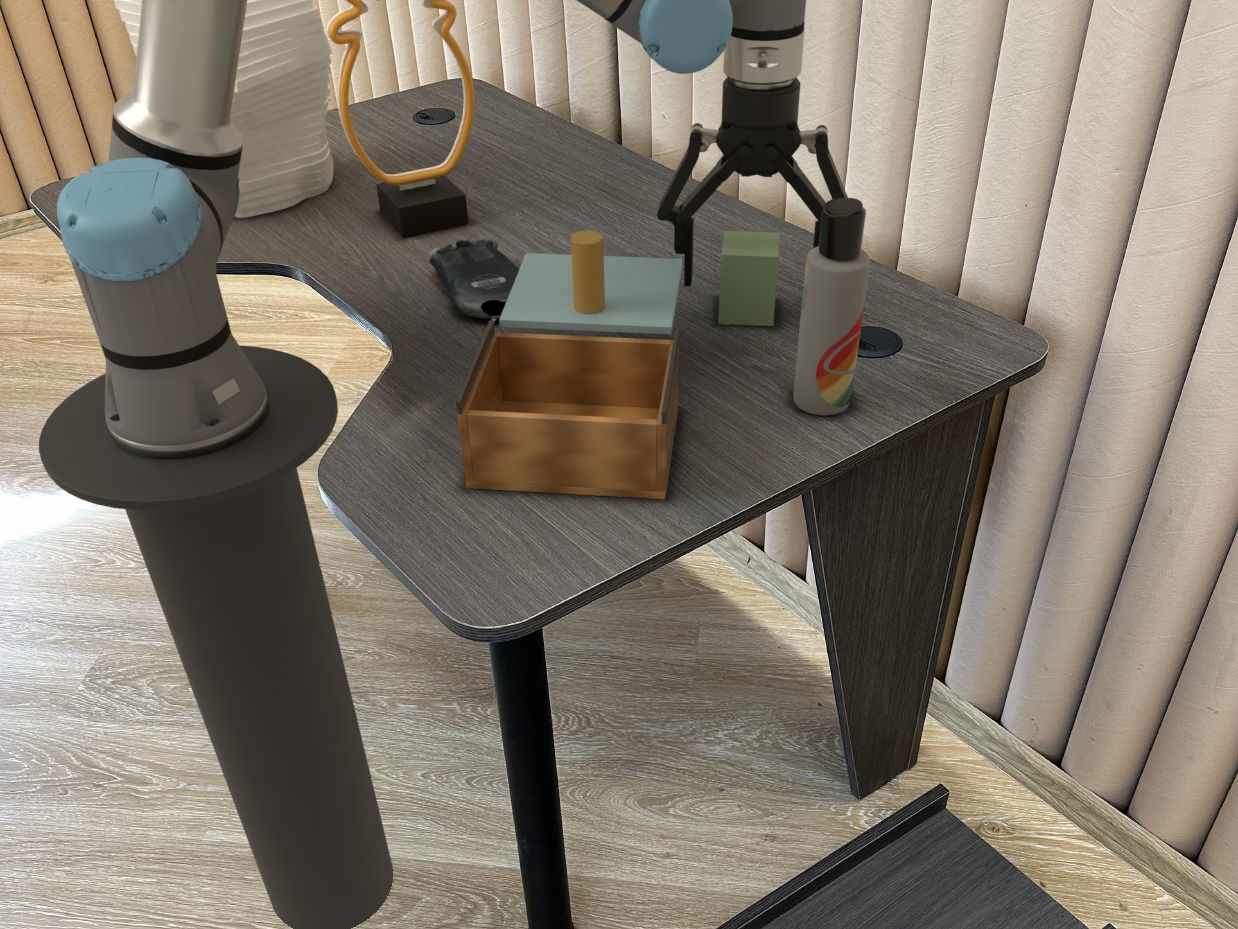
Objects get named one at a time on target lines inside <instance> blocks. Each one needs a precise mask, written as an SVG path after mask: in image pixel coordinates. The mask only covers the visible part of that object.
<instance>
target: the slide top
mask: <svg viewBox="0 0 1238 929" xmlns="http://www.w3.org/2000/svg"><path fill="white" fill-rule="evenodd" d="M570 248H571V249H570V250H571V251H570V252H571V253H570V254H562V253H560V254H559V253H538V252H537V253H534V252H526V253H525V254H524V257H523V260H522V262H521V265H520V267H519V268H518V269H519V272H518V274H517V277H516V279H515V282H514V284H513V287H512V289H511V292H510V294H509V297H508V299H507V302H506V304H505V307H504V309H503V312H502V314H501V317H500V318H498V321H499V328H510V329H511V328H512V329H535V330H554V331H555V330H557V331H580V332H605V333H623V334H624V333H626V334H648V335H669V336H671V335H672V333H673V328H674V322H675V316H676V310H677V304H678V299H679V298H678V297H679V292H680V286H681V281H682V280H681V279H682V274H683V270H684V258H670V257H669V258H667V257H666V258H665V257H641V256H618V255H617V256H616V255H614V256H613V255H605V250H604V249H605V248H604V235H603V233H601V232H599V231H597V230H592V229H591V230H590V229H587V230H579V231H575V232H574V233H573V234H571V236H570Z"/></svg>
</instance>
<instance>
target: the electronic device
mask: <svg viewBox="0 0 1238 929" xmlns="http://www.w3.org/2000/svg"><path fill="white" fill-rule="evenodd" d="M499 246H500V243H499V242H498V240H497V238H493V237H490V238H485V239H479V240H476V241H475V240H474V241H471V239H464V240H463V239H459V240H456V241H455V245H454V246H453V243H448V244H446V245H445V246H443V247H437V248H433V249H432V250H431V252H430V253H429V257H428V264H430V265H431V266H432V267H433V268H434V270H435V272H436V274H437V276H438V277H439V278H440V280H441V282H442V284H443V285H444V287H445V289H446V290H447V292H448V298H449V300H450V302H451V303H452V306H453V307H454V309H455V310H457V312H459V313H461V314H463V315H465V316H468V317H471V318H475V319H485V320H486V319H488V320H490V319H491V321H494V322H495V321H497V319H500V317H501V314H502V312H503V309H504V307H505V304H506V302H507V299H508V297H509V294H510V292H511V289H512V287H513V284H514V282H515V279H516V277H517V274H518V272H519V269H520V268H519V267H518V266H517V265H515V264H514V263H513V261H511V260H510V258H508V257H507V256H506V255H504V253H502V251H499V250H498V248H499Z"/></svg>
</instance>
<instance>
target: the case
mask: <svg viewBox="0 0 1238 929" xmlns="http://www.w3.org/2000/svg"><path fill="white" fill-rule="evenodd" d="M680 330H681V329H680V328H675V330H674V335H673V339H659V338H658V339H657V338H639V337H638V338H637V337H636V338H635V337H613V336H612V337H611V336H590V335H567V334H545V333H544V334H543V333H542V334H541V333H522V332H521V333H520V332H519V333H518V332H502V331H501V332H499V331H495V321H492V320H489V321H488V323H487V325H486V328H485V330H484V333H483V335H482V337H481V340H480V342H479V345H478V347H477V350H476V352H475V355H474V357H473V359H472V362H471V363H470V364H471V365H470V366H469V369H468V371H467V374H466V376H465V379H464V382H463V384H462V386H461V388H460V391H459V393H458V396H457V399H456V401H455V406H456V414H457V424H458V431H459V437H460V438H459V439H460V445H461V454H462V463H463V471H464V478H465V488H466V489H475V490H491V491H492V490H495V491H509V492H525V493H526V492H527V493H528V492H529V493H542V494H543V493H545V494H546V493H547V494H548V493H549V494H560V495H561V494H563V495H581V496H597V497H615V498H634V499H648V500H649V499H651V500H666V496H667V488H668V482H669V476H670V475H669V474H670V469H671V460H672V455H673V447H674V440H675V434H676V426H677V420H678V413H679V381H680V380H679V378H680V376H679V374H680V334H681V333H680V332H681V331H680Z"/></svg>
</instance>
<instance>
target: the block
mask: <svg viewBox="0 0 1238 929" xmlns="http://www.w3.org/2000/svg"><path fill="white" fill-rule="evenodd" d="M780 238H781V237H780V232H768V231H767V232H766V231H742V230H741V231H740V230H739V231H737V230H735V231H734V230H724V231H723V238H722V246H721V253H720V254H721V256H720V272H719V273H720V275H719V298H718V316H717V317H718V318H717V324H718V325H731V326H732V325H733V326H753V327H754V326H756V327H757V326H758V327H774V322H775V310H776V297H777V286H778V285H777V284H778V274H779V263H780V262H779V260H780Z"/></svg>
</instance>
